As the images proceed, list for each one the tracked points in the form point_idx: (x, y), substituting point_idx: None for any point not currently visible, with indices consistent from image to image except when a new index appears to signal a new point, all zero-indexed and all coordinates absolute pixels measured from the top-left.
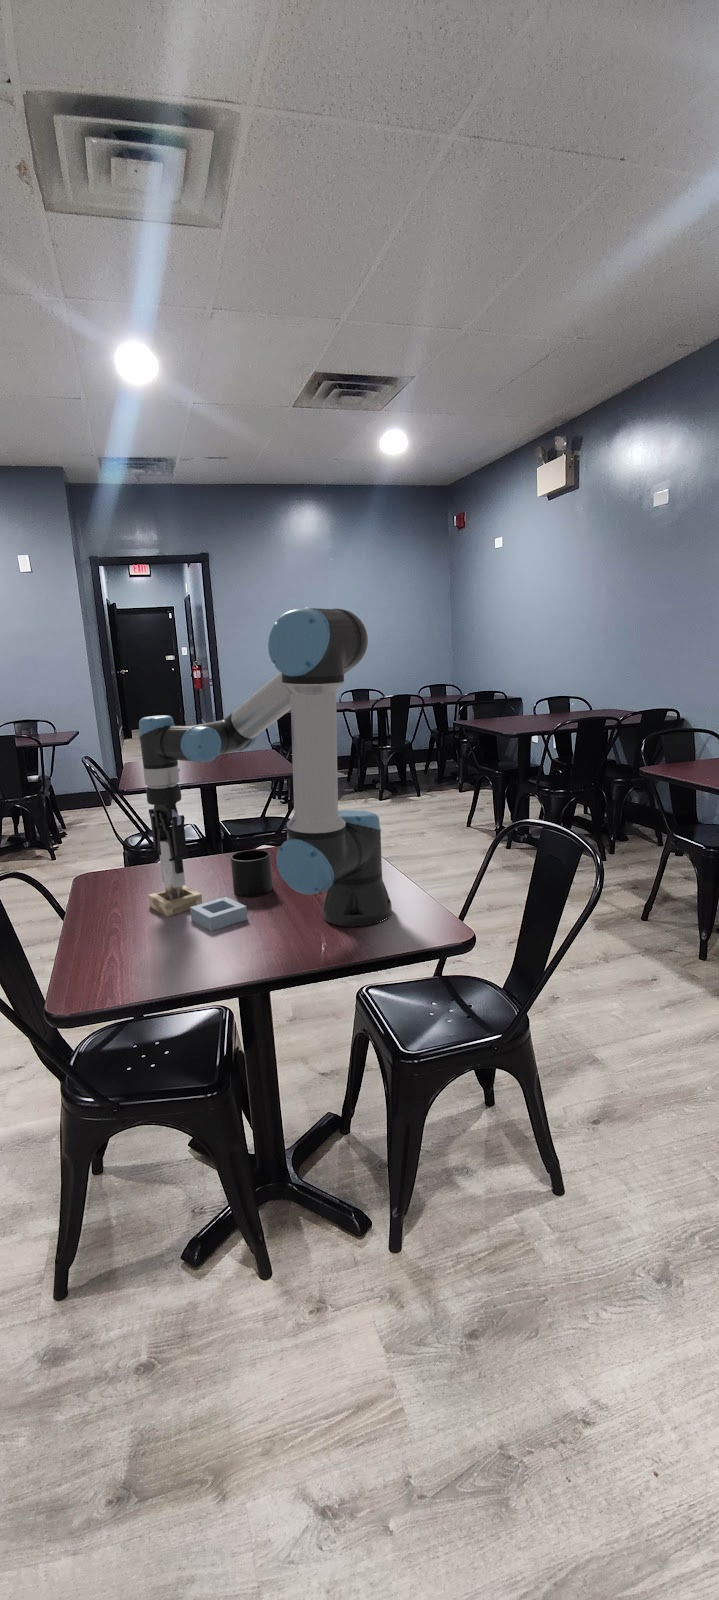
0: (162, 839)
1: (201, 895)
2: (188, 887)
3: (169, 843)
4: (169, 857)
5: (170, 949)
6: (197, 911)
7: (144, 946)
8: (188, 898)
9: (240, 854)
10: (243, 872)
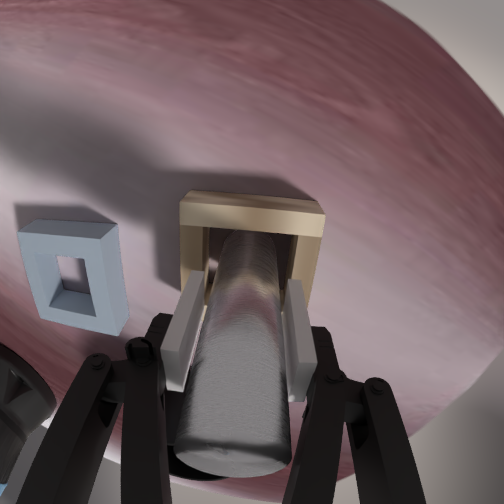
0: (299, 454)
1: None
2: None
3: (143, 433)
4: (195, 365)
5: (13, 109)
6: (63, 235)
7: (57, 63)
8: (181, 279)
9: None
10: None
